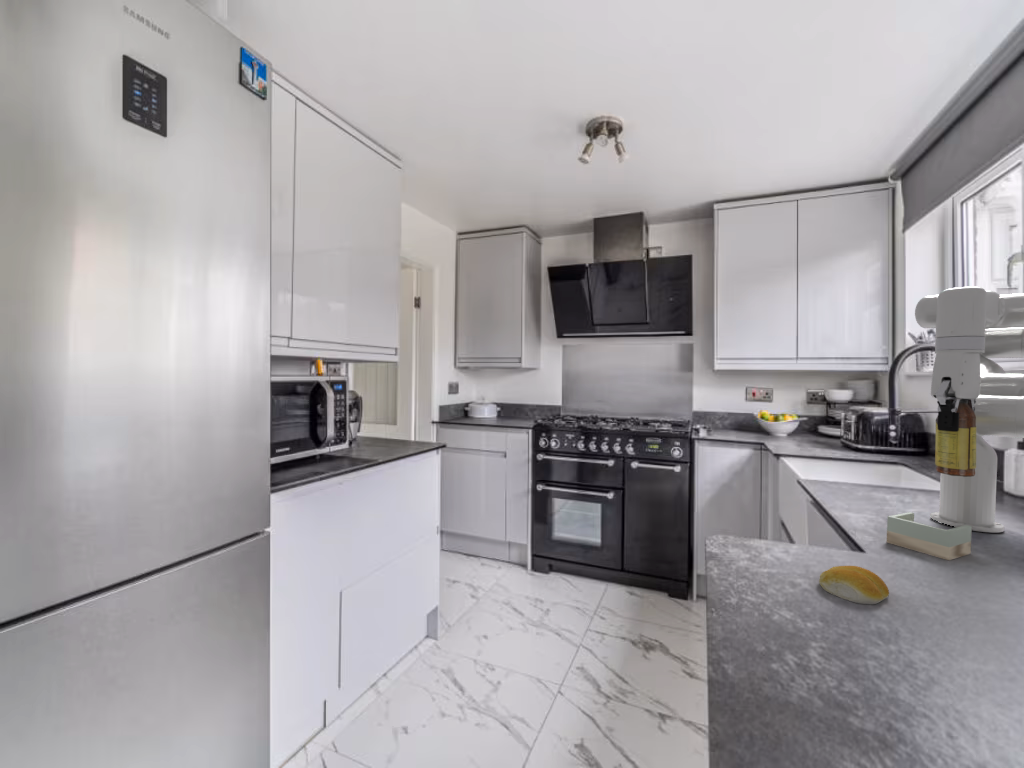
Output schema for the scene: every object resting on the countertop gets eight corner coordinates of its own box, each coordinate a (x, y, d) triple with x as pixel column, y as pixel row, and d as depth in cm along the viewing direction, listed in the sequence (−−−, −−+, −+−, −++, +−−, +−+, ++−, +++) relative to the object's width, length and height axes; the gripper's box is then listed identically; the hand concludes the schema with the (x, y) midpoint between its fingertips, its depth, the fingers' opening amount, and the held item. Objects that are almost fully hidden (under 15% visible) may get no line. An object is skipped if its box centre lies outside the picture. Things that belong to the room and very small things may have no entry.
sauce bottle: (957, 472, 99) (961, 382, 98) (984, 478, 92) (989, 382, 92) (925, 470, 99) (929, 381, 99) (950, 477, 93) (954, 381, 93)
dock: (908, 537, 98) (909, 512, 98) (970, 553, 89) (971, 526, 89) (886, 542, 94) (887, 516, 94) (948, 560, 85) (950, 531, 85)
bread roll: (894, 596, 70) (896, 571, 70) (872, 611, 65) (874, 584, 65) (834, 576, 77) (835, 553, 77) (809, 588, 72) (810, 563, 72)
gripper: (955, 349, 102) (951, 427, 103) (916, 345, 95) (913, 429, 95) (1001, 347, 96) (997, 431, 96) (964, 343, 88) (960, 434, 88)
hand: (955, 429), depth 96 cm, fingers closed on sauce bottle, 6 cm apart
